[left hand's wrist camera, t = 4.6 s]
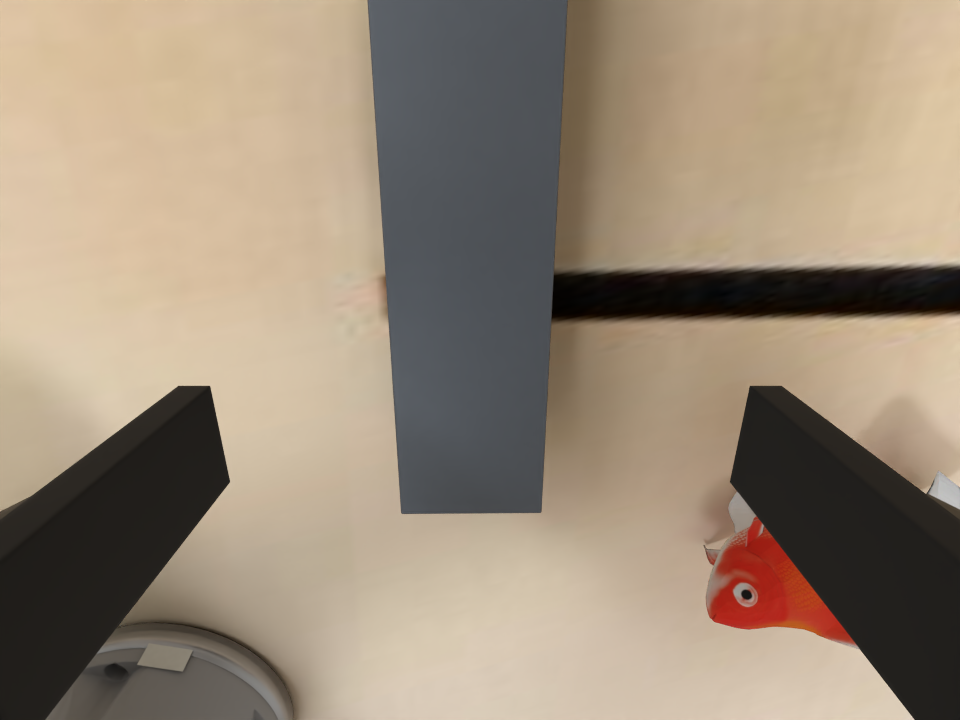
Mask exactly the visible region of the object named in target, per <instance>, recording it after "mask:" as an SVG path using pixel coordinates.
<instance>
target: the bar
mask: <svg viewBox="0 0 960 720" xmlns="http://www.w3.org/2000/svg"><path fill="white" fill-rule="evenodd" d="M567 4H568V0H368V14H369V30H370V45H371V60H372V75H373V91H374V106H375V121H376V136H377V151H378V167H379V182H380V197H381V212H382V228H383V243H384V258H385V273H386V288H387V304H388V319H389V334H390V349H391V365H392V380H393V395H394V410H395V426H396V441H397V456H398V471H399V486H400V502H401V513H402V514H445V513H541V511H542V491H543V472H544V452H545V433H546V413H547V394H548V374H549V355H550V335H551V316H552V296H553V277H554V257H555V238H556V218H557V199H558V179H559V160H560V140H561V121H562V101H563V82H564V62H565V43H566V23H567Z"/></svg>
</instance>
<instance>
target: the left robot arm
mask: <svg viewBox="0 0 960 720" xmlns="http://www.w3.org/2000/svg"><path fill="white" fill-rule="evenodd" d="M229 483H230V480H229V475H228V470H227V465H226V460H225V455H224V451H223V446H222V441H221V436H220V431H219V427H218V422H217V417H216V412H215V407H214V403H213V398H212V393H211V388H210V386H178V387H177V388H175V389H174V390H173V391H171V392H170V393H169V394H167V395H166V396H165V397H163V398H162V399H161V400H159V401H158V402H157V403H155V404H154V405H152V406H151V407H150V408H148V409H147V410H146V411H144V412H143V413H142V414H140V415H139V416H138V417H136V418H135V419H134V420H132V421H131V422H130V423H128V424H127V425H126V426H124V427H123V428H122V429H120V430H119V431H118V432H116V433H115V434H114V435H112V436H111V437H110V438H108V439H107V440H106V441H104V442H103V443H102V444H100V445H99V446H98V447H96V448H95V449H94V450H92V451H91V452H90V453H88V454H87V455H86V456H84V457H83V458H82V459H80V460H79V461H78V462H76V463H75V464H74V465H72V466H71V467H70V468H68V469H67V470H66V471H64V472H63V473H62V474H60V475H59V476H58V477H56V478H55V479H54V480H52V481H51V482H50V483H48V484H47V485H46V486H44V487H43V488H42V489H40V490H39V491H38V492H36V493H35V494H34V495H32V496H31V497H29V498H27V499H25V500H23V501H21V502H19V503H17V504H15V505H13V506H11V507H9V508H7V509H5V510H3V511H1V512H0V720H293V707H292V702H291V699H290V696H289V694H288V692H287V689H286V687H285V686H284V684H283V683H282V681H281V679H280V678H279V677H278V676H277V674H276V673H275V672H274V671H273V670H272V669H271V668H270V667H269V666H268V665H267V664H266V663H265V662H264V661H263V660H262V659H261V658H259V657H258V656H257V655H255V654H254V653H252V652H251V651H250V650H248V649H246V648H245V647H243V646H241V645H240V644H238V643H236V642H234V641H232V640H230V639H227V638H225V637H223V636H220V635H218V634H215V633H212V632H209V631H206V630H202V629H198V628H194V627H189V626H184V625H176V624H165V623H145V624H135V625H129V626H124V627H120V628H117V627H118V625H119V624H120V623H121V622H122V620H123V619H124V618H125V616H126V615H127V614H128V613H129V611H130V610H131V609H132V607H133V606H134V605H135V604H136V602H137V601H138V600H139V598H140V597H141V596H142V595H143V593H144V592H145V591H146V589H147V588H148V587H149V586H150V584H151V583H152V582H153V580H154V579H155V578H156V577H157V575H158V574H159V573H160V571H161V570H162V569H163V568H164V566H165V565H166V564H167V562H168V561H169V560H170V559H171V557H172V556H173V555H174V553H175V552H176V551H177V550H178V548H179V547H180V546H181V544H182V543H183V542H184V541H185V539H186V538H187V537H188V535H189V534H190V533H191V532H192V530H193V529H194V528H195V526H196V525H197V524H198V523H199V521H200V520H201V519H202V517H203V516H204V515H205V514H206V512H207V511H208V510H209V508H210V507H211V506H212V505H213V503H214V502H215V501H216V499H217V498H218V497H219V495H220V494H221V493H222V492H223V490H224V489H225V488H226V486H227V485H228V484H229ZM730 483H731V484H732V485H733V486H734V488H735V489H736V490H737V492H738V493H739V494H740V495H741V497H742V498H743V499H744V501H745V502H746V503H747V505H748V506H749V507H750V508H751V510H752V511H753V512H754V514H755V515H756V516H757V517H758V519H759V520H760V521H761V523H762V524H763V525H764V526H765V528H766V529H767V530H768V532H769V533H770V534H771V535H772V537H773V538H774V539H775V541H776V542H777V543H778V544H779V546H780V547H781V548H782V550H783V551H784V552H785V553H786V555H787V556H788V557H789V559H790V560H791V561H792V562H793V564H794V565H795V566H796V568H797V569H798V570H799V571H800V573H801V574H802V575H803V577H804V578H805V579H806V580H807V582H808V583H809V584H810V586H811V587H812V588H813V589H814V591H815V592H816V593H817V595H818V596H819V597H820V598H821V600H822V601H823V602H824V604H825V605H826V606H827V607H828V609H829V610H830V611H831V613H832V614H833V615H834V616H835V618H836V619H837V620H838V622H839V623H840V624H841V625H842V627H843V628H844V629H845V631H846V632H847V633H848V634H849V636H850V637H851V638H852V640H853V641H854V642H855V644H856V645H857V646H858V647H859V649H860V650H861V651H862V653H863V654H864V655H865V656H866V658H867V659H868V660H869V662H870V663H871V664H872V665H873V667H874V668H875V669H876V671H877V672H878V673H879V674H880V676H881V677H882V678H883V680H884V681H885V682H886V683H887V685H888V686H889V687H890V689H891V690H892V691H893V692H894V694H895V695H896V696H897V698H898V699H899V700H900V701H901V703H902V704H903V705H904V707H905V708H906V709H907V710H908V712H909V713H910V714H911V716H912V717H913V718H914V719H915V720H960V509H958V508H956V507H954V506H952V505H950V504H948V503H946V502H944V501H942V500H940V499H938V498H936V497H934V496H932V495H930V494H925V493H924V492H922V491H921V490H920V489H918V488H917V487H916V486H914V485H913V484H912V483H910V482H909V481H908V480H906V479H905V478H904V477H902V476H901V475H900V474H898V473H897V472H896V471H894V470H893V469H892V468H890V467H889V466H888V465H886V464H885V463H884V462H882V461H881V460H880V459H878V458H877V457H876V456H874V455H873V454H872V453H870V452H869V451H868V450H866V449H865V448H864V447H862V446H861V445H860V444H858V443H857V442H856V441H854V440H853V439H852V438H850V437H849V436H848V435H846V434H845V433H844V432H842V431H841V430H840V429H838V428H837V427H836V426H834V425H833V424H832V423H830V422H829V421H828V420H826V419H825V418H824V417H822V416H821V415H820V414H818V413H817V412H816V411H814V410H813V409H812V408H810V407H809V406H808V405H806V404H805V403H803V402H802V401H801V400H799V399H798V398H797V397H795V396H794V395H793V394H791V393H790V392H789V391H787V390H786V389H785V388H783V387H782V386H750V388H749V393H748V398H747V403H746V407H745V412H744V417H743V422H742V427H741V431H740V436H739V441H738V446H737V451H736V455H735V460H734V465H733V470H732V475H731V480H730Z"/></svg>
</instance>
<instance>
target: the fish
mask: <svg viewBox="0 0 960 720" xmlns="http://www.w3.org/2000/svg"><path fill="white" fill-rule="evenodd" d="M927 494H930V495H932V496H934V497H936V498H938V499H940V500H942V501H944V502H946V503H948V504H950V505H952V506H954V507H956V508H958V509H960V487H958V486H957V485H956V484H955V483H953V482H952V481H951V480H950V479H948V478H947V477H946V476H945V475H943V474H942V473H941V472H940V471H938V472H937V475H936V477H935V479H934V481H933V483H932V485H931V487H930V489H929V491H928V492H927ZM728 510H729V514H730V517H731V519H732V521H733V523H734V526H735V534H734V535H733V536H731V537H730V538H729V539H728V540H727V541H726V542H725V544H724V545H723V547H722V549H721V550H712V549H706V547H705V546H704V548H705V550H706V554H707V558H708V560H709V562H710V564H712V565H714V567H713V569H712V572H711V575H710V578H709V582H708V587H707V593H706V606H707V611H708V614H709V617H710V618H711V619H712V620H713V621H714V622H716V623H720V624H724V625H728V626H731V627H736V628H741V629H758V628H766V627H789V628H798V629H805V630H808V631H811V632H814V633H816V634H817V635H819V636H822V637H824V638H827V639H829V640H832V641H835V642H838V643H841V644H844V645H847V646H850V647H854V648H857V649H859V647H858V646H857V645H856V644H855V642H854V641H853V640H852V638H851V637H850V636H849V634H848V633H847V632H846V631H845V629H844V628H843V627H842V625H841V624H840V623H839V622H838V620H837V619H836V618H835V616H834V615H833V614H832V613H831V611H830V610H829V609H828V607H827V606H826V605H825V604H824V602H823V601H822V600H821V598H820V597H819V596H818V595H817V593H816V592H815V591H814V589H813V588H812V587H811V586H810V584H809V583H808V582H807V580H806V579H805V578H804V577H803V575H802V574H801V573H800V571H799V570H798V569H797V568H796V566H795V565H794V564H793V562H792V561H791V560H790V559H789V557H788V556H787V555H786V553H785V552H784V551H783V550H782V548H781V547H780V546H779V544H778V543H777V542H776V541H775V539H774V538H773V537H772V535H771V534H770V533H769V532H768V530H767V529H766V528H765V526H764V525H763V524H762V523H761V521H760V520H759V519H758V517H757V516H756V515H755V514H754V512H753V511H752V510H751V508H750V507H749V506H748V505H747V503H746V502H745V501H744V499H743V498H742V497H741V495H740V494H739V493H738V492H736V493H735V495H734V497H733V498H732V500H731V502H730V503H729V508H728Z"/></svg>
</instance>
